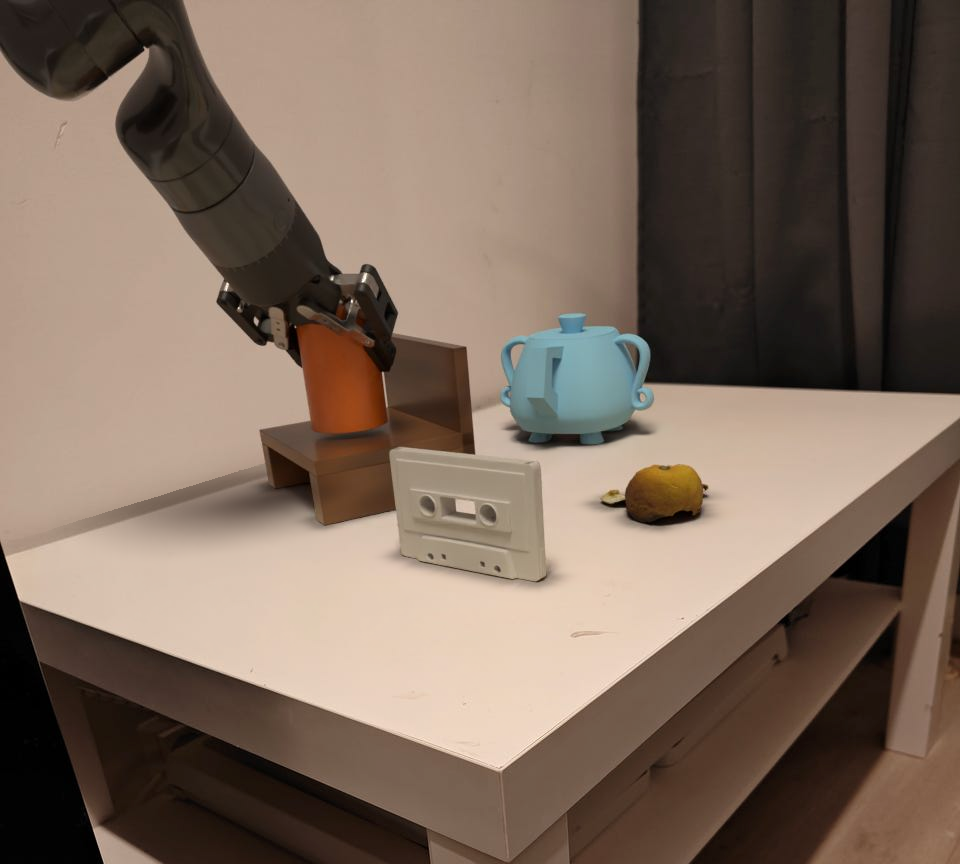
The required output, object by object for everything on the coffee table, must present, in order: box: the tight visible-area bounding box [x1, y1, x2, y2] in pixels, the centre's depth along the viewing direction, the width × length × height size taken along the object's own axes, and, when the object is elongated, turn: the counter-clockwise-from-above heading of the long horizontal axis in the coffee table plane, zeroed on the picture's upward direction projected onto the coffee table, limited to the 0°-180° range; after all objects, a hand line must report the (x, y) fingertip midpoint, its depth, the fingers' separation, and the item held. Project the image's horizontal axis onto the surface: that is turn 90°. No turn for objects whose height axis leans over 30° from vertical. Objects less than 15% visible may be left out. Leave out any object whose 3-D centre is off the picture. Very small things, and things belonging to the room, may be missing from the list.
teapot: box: [499, 312, 655, 445], centre depth 95 cm, size 20×17×12 cm
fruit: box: [600, 463, 709, 523], centre depth 71 cm, size 8×8×4 cm
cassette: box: [389, 447, 547, 582], centre depth 62 cm, size 12×2×8 cm, turn 53°
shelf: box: [259, 332, 476, 526], centre depth 81 cm, size 14×16×12 cm
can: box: [295, 300, 388, 434], centre depth 79 cm, size 7×7×10 cm
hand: (350, 364), depth 80 cm, fingers closed on can, 6 cm apart
